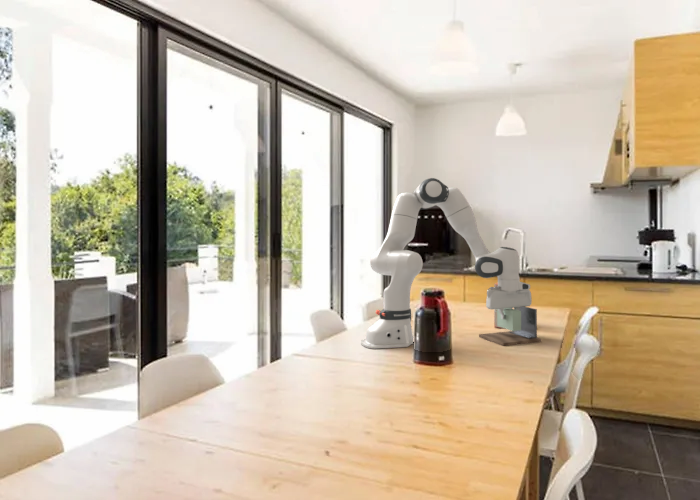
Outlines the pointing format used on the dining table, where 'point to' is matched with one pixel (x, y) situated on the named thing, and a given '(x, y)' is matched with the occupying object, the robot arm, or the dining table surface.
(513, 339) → the shelf board
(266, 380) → the dining table surface
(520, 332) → the bookend
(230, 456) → the dining table surface
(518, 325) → the pale green block
